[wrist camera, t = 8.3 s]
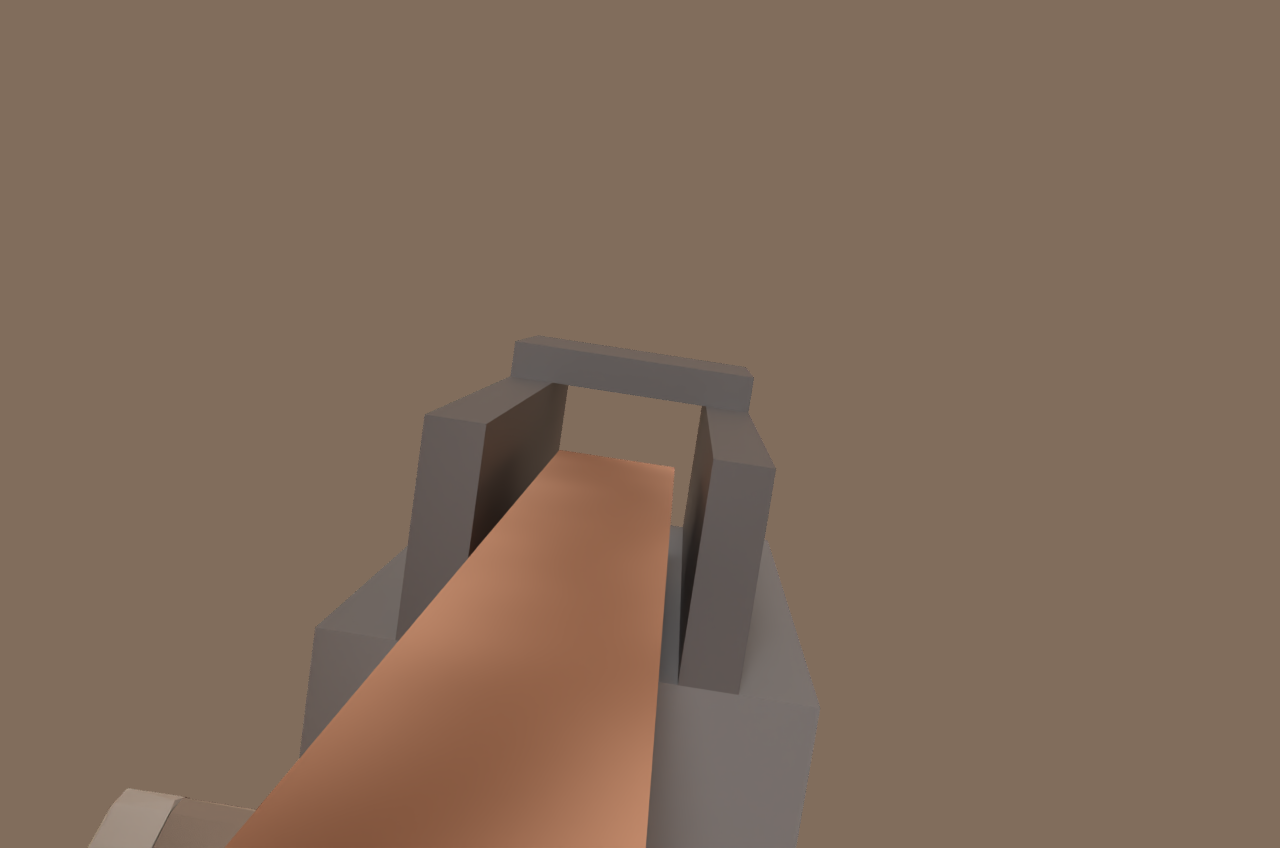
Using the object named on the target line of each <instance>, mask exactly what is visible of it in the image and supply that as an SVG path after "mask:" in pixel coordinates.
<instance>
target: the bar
mask: <svg viewBox="0 0 1280 848" xmlns="http://www.w3.org/2000/svg"><path fill="white" fill-rule="evenodd" d="M674 469H675V468H674V467H668V466H661V465H655V464H648V463H641V462H635V461H628V460H622V459H615V458H609V457H602V456H595V455H588V454H582V453H576V452H569V451H563V450H559V451H558V452H557V453H556V455H555V456H554V457H553V458H552V459H551V461H550V462H549V463H548V464H547V465H546V466H545V468H544V469H543V470H542V471H541V472H540V474H539V475H538V476H537V477H536V478H535V480H534V481H533V482H532V483H531V484H530V485H529V487H528V488H527V489H526V490H525V491H524V493H523V494H522V495H521V496H520V497H519V499H518V500H517V501H516V502H515V503H514V504H513V506H512V507H511V508H510V509H509V510H508V512H507V513H506V514H505V515H504V516H503V518H502V519H501V520H500V521H499V522H498V523H497V525H496V526H495V527H494V528H493V529H492V531H491V532H490V533H489V534H488V535H487V537H486V538H485V539H484V540H483V541H482V542H481V544H480V545H479V546H478V547H477V548H476V550H475V551H474V552H473V553H472V554H471V556H470V557H469V558H468V559H467V560H466V561H465V563H464V564H463V565H462V566H461V567H460V569H459V570H458V571H457V572H456V573H455V575H454V576H453V577H452V578H451V579H450V580H449V582H448V583H447V584H446V585H445V586H444V588H443V589H442V590H441V591H440V592H439V594H438V595H437V596H436V597H435V598H434V599H433V601H432V602H431V603H430V604H429V605H428V607H427V608H426V609H425V610H424V611H423V613H422V614H421V615H420V616H419V617H418V618H417V620H416V621H415V622H414V623H413V624H412V626H411V627H410V628H409V629H408V630H407V632H406V633H405V634H404V635H403V636H402V637H401V639H400V640H399V641H398V642H397V643H396V645H395V646H394V647H393V648H392V649H391V651H390V652H389V653H388V654H387V655H386V656H385V658H384V659H383V660H382V661H381V662H380V664H379V665H378V666H377V667H376V668H375V669H374V671H373V672H372V673H371V674H370V675H369V677H368V678H367V679H366V680H365V681H364V683H363V684H362V685H361V686H360V687H359V688H358V690H357V691H356V692H355V693H354V694H353V696H352V697H351V698H350V699H349V700H348V702H347V703H346V704H345V705H344V706H343V707H342V709H341V710H340V711H339V712H338V713H337V715H336V716H335V717H334V718H333V719H332V721H331V722H330V723H329V724H328V725H327V726H326V728H325V729H324V730H323V731H322V732H321V734H320V735H319V736H318V737H317V738H316V740H315V741H314V742H313V743H312V744H311V745H310V747H309V748H308V749H307V750H306V751H305V753H304V754H303V755H302V756H301V757H300V759H299V760H298V761H297V762H296V763H295V765H294V766H293V767H292V768H291V769H290V770H289V772H288V773H287V774H286V775H285V776H284V778H283V779H282V780H281V781H280V782H279V784H278V785H277V786H276V787H275V788H274V789H273V791H272V792H271V793H270V794H269V795H268V797H267V798H266V799H265V800H264V801H263V803H262V804H261V805H260V806H259V807H258V809H257V810H256V811H255V812H254V813H253V814H252V816H251V817H250V818H249V819H248V820H247V821H246V823H245V824H244V825H243V826H242V827H241V829H240V830H239V831H238V832H237V833H236V835H235V836H234V837H233V838H232V839H231V840H230V842H229V843H228V844H227V845H226V846H225V848H646V838H647V825H648V811H649V798H650V785H651V772H652V759H653V746H654V733H655V719H656V706H657V693H658V680H659V667H660V654H661V640H662V627H663V614H664V601H665V588H666V575H667V561H668V548H669V535H670V521H671V509H672V496H673V482H674Z"/></svg>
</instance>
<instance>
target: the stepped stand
mask: <svg viewBox="0 0 1280 848" xmlns="http://www.w3.org/2000/svg"><path fill="white" fill-rule="evenodd" d="M753 380H754V377H753V376H752V375H751V373H750V372H749V371H748V370H747V368H746V367H741V366H735V365H728V364H722V363H715V362H709V361H702V360H695V359H688V358H682V357H676V356H669V355H663V354H656V353H650V352H643V351H637V350H630V349H623V348H617V347H610V346H604V345H597V344H591V343H584V342H578V341H571V340H564V339H558V338H551V337H545V336H534V337H530V338H526V339H522V340H518V341H516V342H515V348H514V356H513V363H512V370H511V376H510V377H508V378H506V379H503V380H501V381H499V382H497V383H494V384H492V385H490V386H488V387H485V388H483V389H481V390H479V391H476V392H474V393H472V394H470V395H467V396H465V397H463V398H461V399H458V400H456V401H454V402H452V403H449V404H447V405H445V406H443V407H441V408H438V409H436V410H434V411H432V412H429V413H427V414H425V417H424V425H423V432H422V440H421V448H420V455H419V463H418V471H417V478H416V486H415V494H414V502H413V509H412V517H411V525H410V532H409V540H408V546H407V547H406V548H405V549H404V550H402V551H401V552H400V553H399V554H398V555H397V556H396V557H394V558H393V559H392V560H391V561H390V562H389V563H388V564H387V565H386V566H384V567H383V568H382V569H381V570H380V571H379V572H377V573H376V574H375V575H374V576H373V577H372V578H371V579H370V580H368V581H367V582H366V583H365V584H364V585H363V586H362V587H361V588H359V589H358V590H357V591H356V592H355V593H354V594H353V595H352V596H350V597H349V598H348V599H347V600H346V601H345V602H344V603H342V604H341V605H340V606H339V607H338V608H337V609H336V610H334V611H333V612H332V613H331V614H330V615H329V616H328V617H327V618H325V619H324V620H323V621H322V622H321V623H320V624H319V625H317V626H316V627H315V634H314V643H313V650H312V659H311V667H310V676H309V684H308V691H307V700H306V708H305V716H304V724H303V732H302V741H301V748H300V757H301V756H302V755H303V754H304V753H305V751H306V750H307V749H308V748H309V747H310V745H311V744H312V743H313V742H314V741H315V740H316V738H317V737H318V736H319V735H320V734H321V732H322V731H323V730H324V729H325V728H326V726H327V725H328V724H329V723H330V722H331V721H332V719H333V718H334V717H335V716H336V715H337V713H338V712H339V711H340V710H341V709H342V707H343V706H344V705H345V704H346V703H347V702H348V700H349V699H350V698H351V697H352V696H353V694H354V693H355V692H356V691H357V690H358V688H359V687H360V686H361V685H362V684H363V683H364V681H365V680H366V679H367V678H368V677H369V675H370V674H371V673H372V672H373V671H374V669H375V668H376V667H377V666H378V665H379V664H380V662H381V661H382V660H383V659H384V658H385V656H386V655H387V654H388V653H389V652H390V651H391V649H392V648H393V647H394V646H395V645H396V643H397V642H398V641H399V640H400V639H401V637H402V636H403V635H404V634H405V633H406V632H407V630H408V629H409V628H410V627H411V626H412V624H413V623H414V622H415V621H416V620H417V618H418V617H419V616H420V615H421V614H422V613H423V611H424V610H425V609H426V608H427V607H428V605H429V604H430V603H431V602H432V601H433V599H434V598H435V597H436V596H437V595H438V594H439V592H440V591H441V590H442V589H443V588H444V586H445V585H446V584H447V583H448V582H449V580H450V579H451V578H452V577H453V576H454V575H455V573H456V572H457V571H458V570H459V569H460V567H461V566H462V565H463V564H464V563H465V561H466V560H467V559H468V558H469V557H470V556H471V554H472V553H473V552H474V551H475V550H476V548H477V547H478V546H479V545H480V544H481V542H482V541H483V540H484V539H485V538H486V537H487V535H488V534H489V533H490V532H491V531H492V529H493V528H494V527H495V526H496V525H497V523H498V522H499V521H500V520H501V519H502V518H503V516H504V515H505V514H506V513H507V512H508V510H509V509H510V508H511V507H512V506H513V504H514V503H515V502H516V501H517V500H518V499H519V497H520V496H521V495H522V494H523V493H524V491H525V490H526V489H527V488H528V487H529V485H530V484H531V483H532V482H533V481H534V480H535V478H536V477H537V476H538V475H539V474H540V472H541V471H542V470H543V469H544V468H545V466H546V465H547V464H548V463H549V462H550V461H551V459H552V458H553V457H554V456H555V455H556V453H557V452H558V451H559V445H560V438H561V431H562V424H563V416H564V410H565V403H566V396H567V390H568V385H571V386H578V387H585V388H591V389H597V390H604V391H610V392H617V393H623V394H630V395H637V396H643V397H650V398H656V399H662V400H669V401H675V402H682V403H688V404H695V405H701V406H702V409H701V416H700V422H699V428H698V435H697V441H696V447H695V454H694V461H693V467H692V473H691V479H690V486H689V492H688V499H687V505H686V511H685V518H684V524H683V527H678V526H671V525H670V535H669V548H668V561H667V575H666V588H665V601H664V614H663V627H662V640H661V654H660V667H659V680H658V693H657V706H656V719H655V733H654V746H653V759H652V772H651V785H650V798H649V811H648V825H647V838H646V848H796V845H797V838H798V833H799V827H800V821H801V816H802V810H803V804H804V798H805V793H806V787H807V781H808V775H809V770H810V764H811V758H812V752H813V746H814V741H815V735H816V729H817V723H818V718H819V711H820V706H819V703H818V700H817V696H816V693H815V690H814V687H813V684H812V681H811V677H810V674H809V671H808V668H807V665H806V661H805V658H804V655H803V652H802V649H801V645H800V642H799V639H798V636H797V633H796V630H795V626H794V623H793V620H792V617H791V614H790V610H789V607H788V604H787V601H786V598H785V594H784V591H783V589H782V585H781V582H780V579H779V575H778V572H777V569H776V566H775V563H774V560H773V556H772V553H771V550H770V547H769V544H768V541H767V540H764V538H765V532H766V526H767V520H768V514H769V508H770V502H771V496H772V489H773V484H774V477H775V471H776V468H775V466H774V464H773V462H772V460H771V458H770V456H769V454H768V452H767V450H766V448H765V446H764V444H763V442H762V440H761V438H760V436H759V434H758V432H757V430H756V427H755V425H754V423H753V422H752V419H751V417H750V415H749V413H748V411H749V405H750V399H751V393H752V385H753ZM300 757H299V759H300Z"/></svg>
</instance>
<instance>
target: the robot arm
mask: <svg viewBox="0 0 1280 848" xmlns="http://www.w3.org/2000/svg"><path fill="white" fill-rule="evenodd" d="M255 811H256V810H255V809H250V808H243V807H238V806H231V805H225V804H219V803H213V802H206V801H200V800H194V799H190V798H187V797H183V796H176V795H169V794H163V793H156V792H149V791H143V790H136V789H130V788H127V789H126V790H125V791H124V792H123V793H122V794H121V796H120V797H119V798H118V799H117V800H116V801H115V802H114V803H113V804H112V805H111V806H110V808H109V810H108V812H107V813H106V815H105V817H104V819H103V820H102V822H101V824H100V826H99V828H98V830H97V831H96V833H95V835H94V837H93V838H92V840H91V842H90V844H89V845H88V847H87V848H225V846H226V845H227V844H228V843H229V842H230V840H231V839H232V838H233V837H234V836H235V835H236V833H237V832H238V831H239V830H240V829H241V827H242V826H243V825H244V824H245V823H246V821H247V820H248V819H249V818H250V817H251V816H252V814H253V813H254V812H255Z"/></svg>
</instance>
